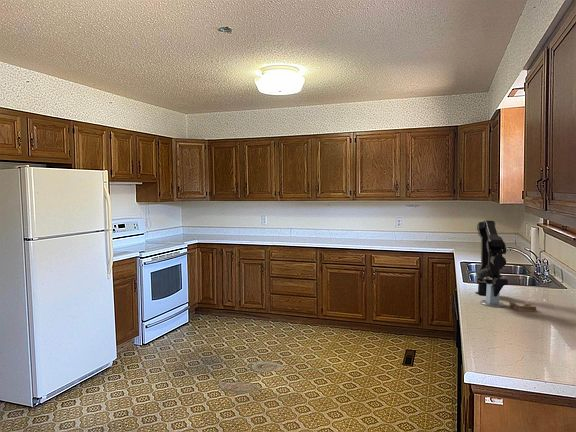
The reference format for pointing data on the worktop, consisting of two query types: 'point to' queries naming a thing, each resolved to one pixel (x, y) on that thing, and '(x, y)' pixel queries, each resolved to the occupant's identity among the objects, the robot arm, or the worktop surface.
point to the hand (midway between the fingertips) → (492, 295)
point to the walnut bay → (523, 307)
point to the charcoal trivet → (492, 304)
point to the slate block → (491, 295)
